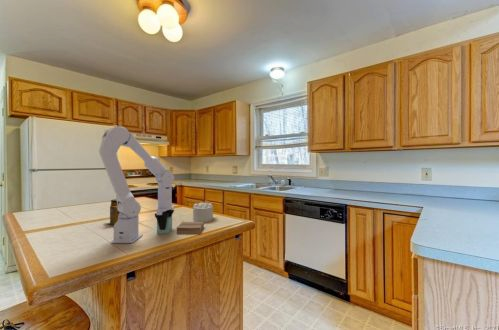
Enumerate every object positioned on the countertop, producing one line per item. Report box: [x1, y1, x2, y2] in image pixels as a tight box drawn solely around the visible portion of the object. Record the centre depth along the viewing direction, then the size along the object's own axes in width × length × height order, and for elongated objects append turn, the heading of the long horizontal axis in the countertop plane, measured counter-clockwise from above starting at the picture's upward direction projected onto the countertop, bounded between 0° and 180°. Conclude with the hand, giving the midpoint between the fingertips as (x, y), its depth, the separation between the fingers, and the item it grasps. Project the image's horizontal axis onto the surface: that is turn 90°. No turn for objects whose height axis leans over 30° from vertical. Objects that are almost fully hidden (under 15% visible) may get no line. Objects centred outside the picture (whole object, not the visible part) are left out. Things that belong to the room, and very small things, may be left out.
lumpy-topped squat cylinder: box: [192, 202, 214, 223], centre depth 127 cm, size 10×13×9 cm
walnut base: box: [176, 221, 205, 235], centre depth 107 cm, size 10×10×3 cm
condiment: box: [103, 198, 120, 228], centre depth 116 cm, size 7×8×12 cm
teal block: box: [156, 216, 173, 234], centre depth 105 cm, size 5×5×6 cm
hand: (164, 227), depth 105 cm, fingers closed on teal block, 5 cm apart
